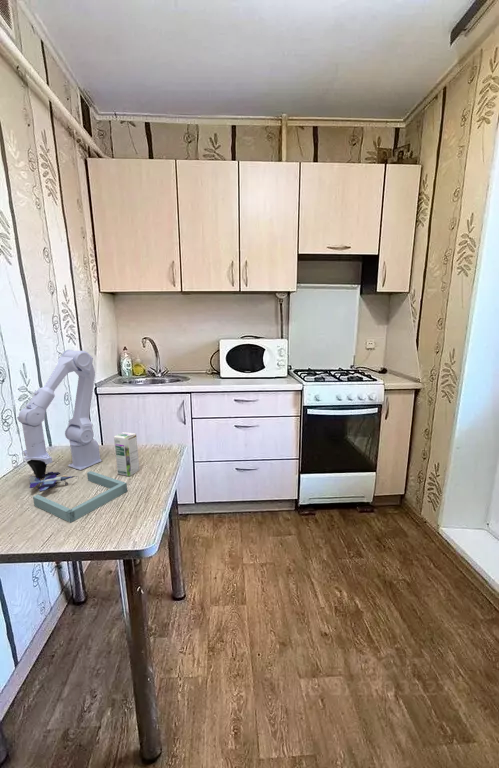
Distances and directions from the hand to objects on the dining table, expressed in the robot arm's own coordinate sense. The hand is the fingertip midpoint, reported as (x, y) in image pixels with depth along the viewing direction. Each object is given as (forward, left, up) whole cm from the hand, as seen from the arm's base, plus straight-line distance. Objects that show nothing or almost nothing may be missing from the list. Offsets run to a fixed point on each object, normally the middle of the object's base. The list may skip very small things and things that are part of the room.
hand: (40, 478), depth 126 cm
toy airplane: (0, +8, -1) cm, 8 cm away
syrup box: (-20, +22, -1) cm, 29 cm away
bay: (0, +23, -1) cm, 23 cm away
